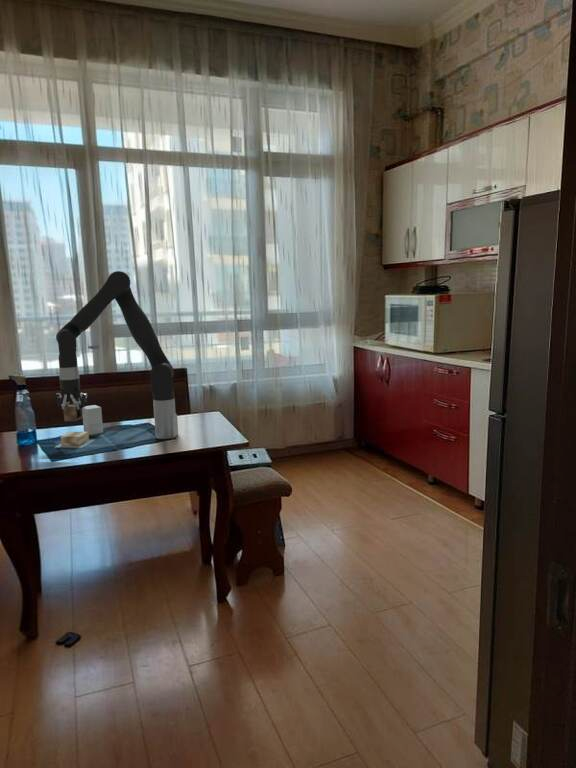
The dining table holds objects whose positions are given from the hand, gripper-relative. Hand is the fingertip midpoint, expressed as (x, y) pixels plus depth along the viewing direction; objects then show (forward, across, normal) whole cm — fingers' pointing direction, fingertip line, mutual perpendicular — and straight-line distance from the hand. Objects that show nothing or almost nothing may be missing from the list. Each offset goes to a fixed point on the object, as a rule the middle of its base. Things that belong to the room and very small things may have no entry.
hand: (73, 417), depth 216 cm
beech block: (+11, 0, 0) cm, 11 cm away
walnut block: (+1, 0, 0) cm, 1 cm away
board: (+12, 0, 0) cm, 12 cm away
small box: (+13, +1, -18) cm, 22 cm away
